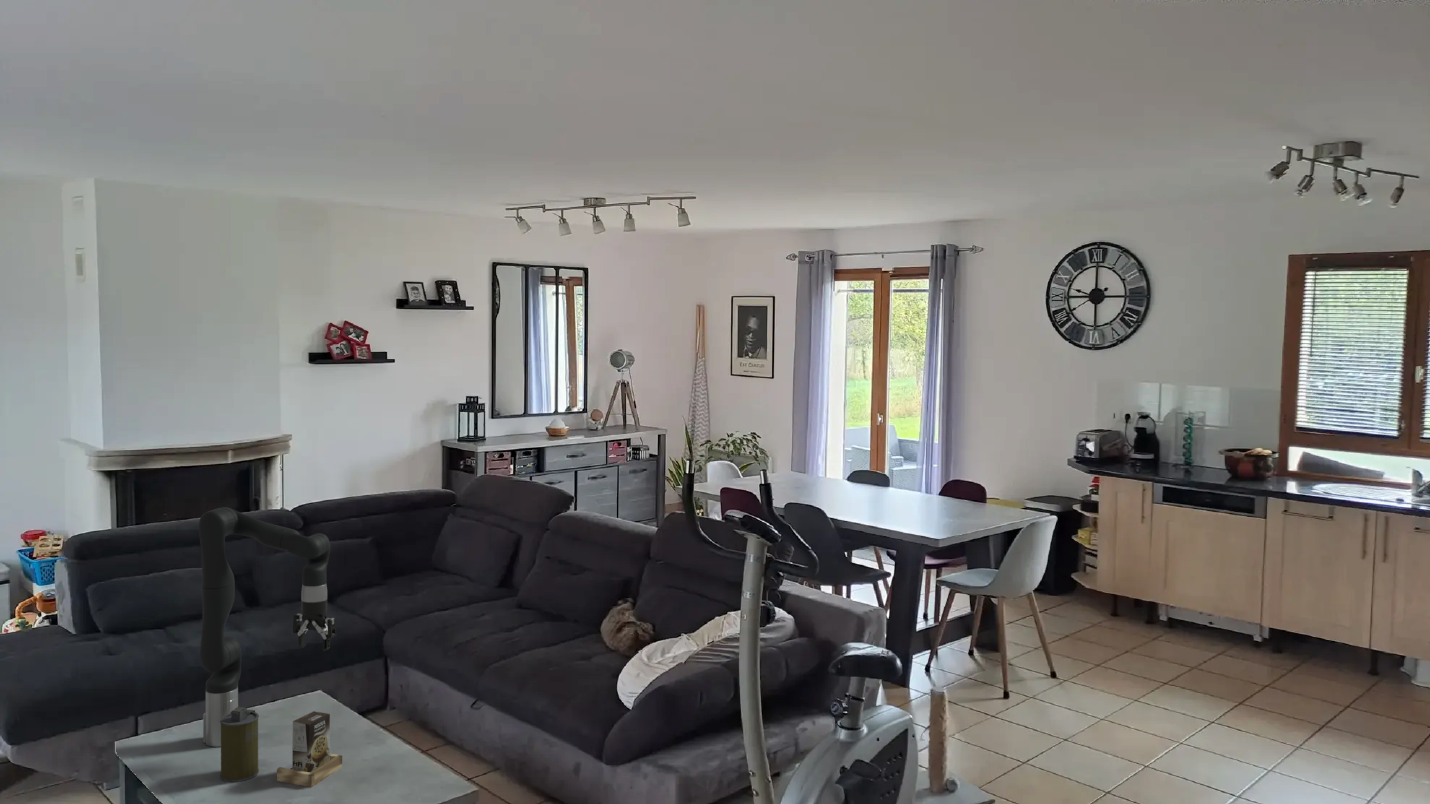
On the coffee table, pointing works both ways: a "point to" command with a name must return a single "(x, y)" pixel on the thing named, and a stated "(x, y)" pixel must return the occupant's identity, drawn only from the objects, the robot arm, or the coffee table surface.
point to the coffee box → (311, 741)
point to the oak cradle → (308, 777)
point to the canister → (239, 745)
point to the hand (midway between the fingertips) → (314, 648)
